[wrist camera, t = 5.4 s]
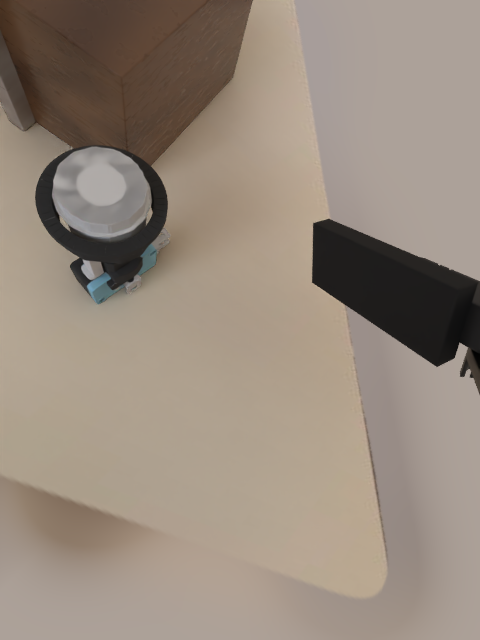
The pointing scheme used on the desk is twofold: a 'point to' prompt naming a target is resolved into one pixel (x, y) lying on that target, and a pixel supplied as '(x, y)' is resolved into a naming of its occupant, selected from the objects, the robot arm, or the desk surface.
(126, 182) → the push button
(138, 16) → the box
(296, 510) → the desk surface
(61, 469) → the desk surface
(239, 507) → the desk surface
